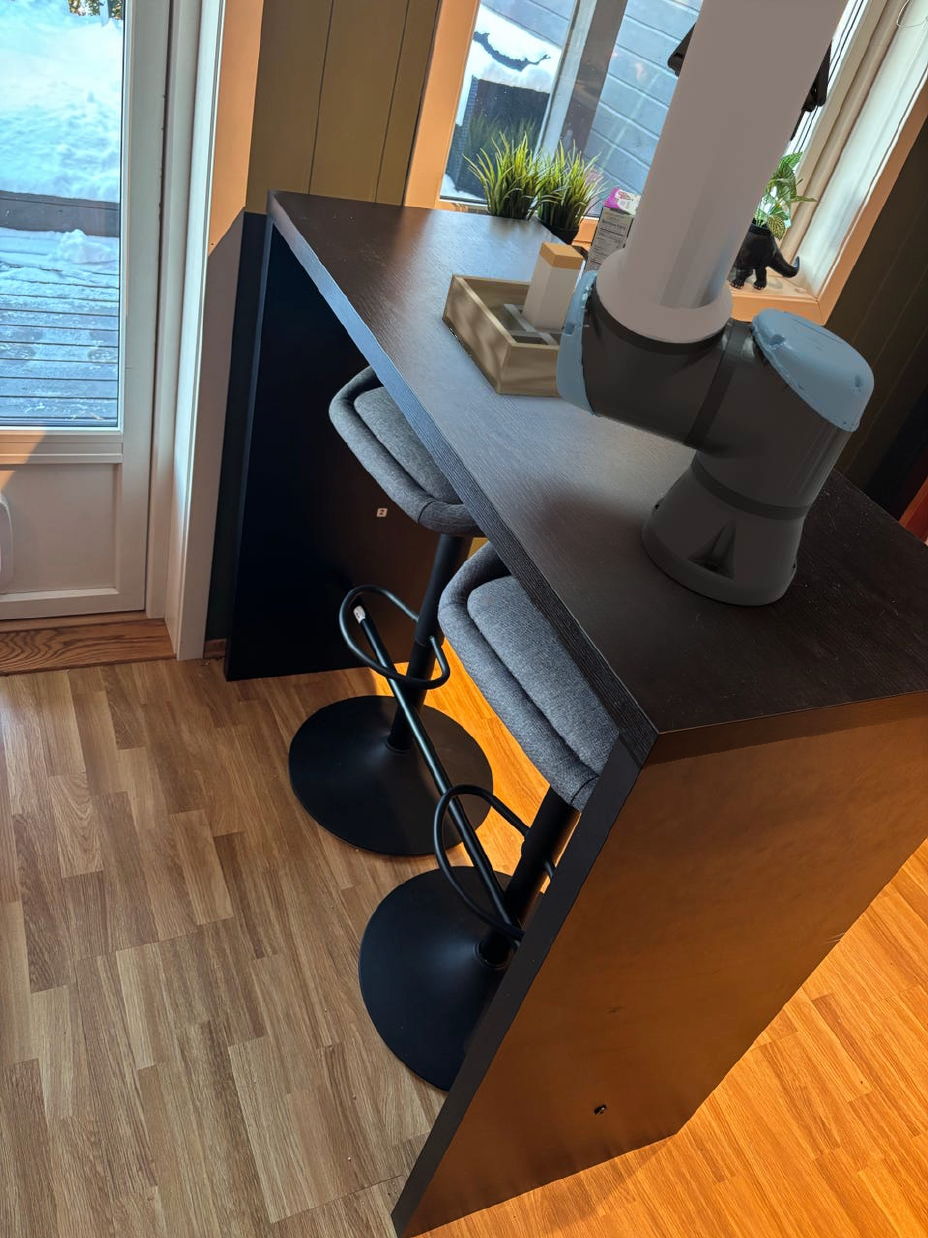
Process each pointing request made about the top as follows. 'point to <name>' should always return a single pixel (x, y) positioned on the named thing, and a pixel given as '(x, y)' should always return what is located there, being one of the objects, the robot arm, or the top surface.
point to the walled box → (503, 335)
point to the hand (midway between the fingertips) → (719, 160)
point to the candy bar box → (612, 227)
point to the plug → (552, 285)
